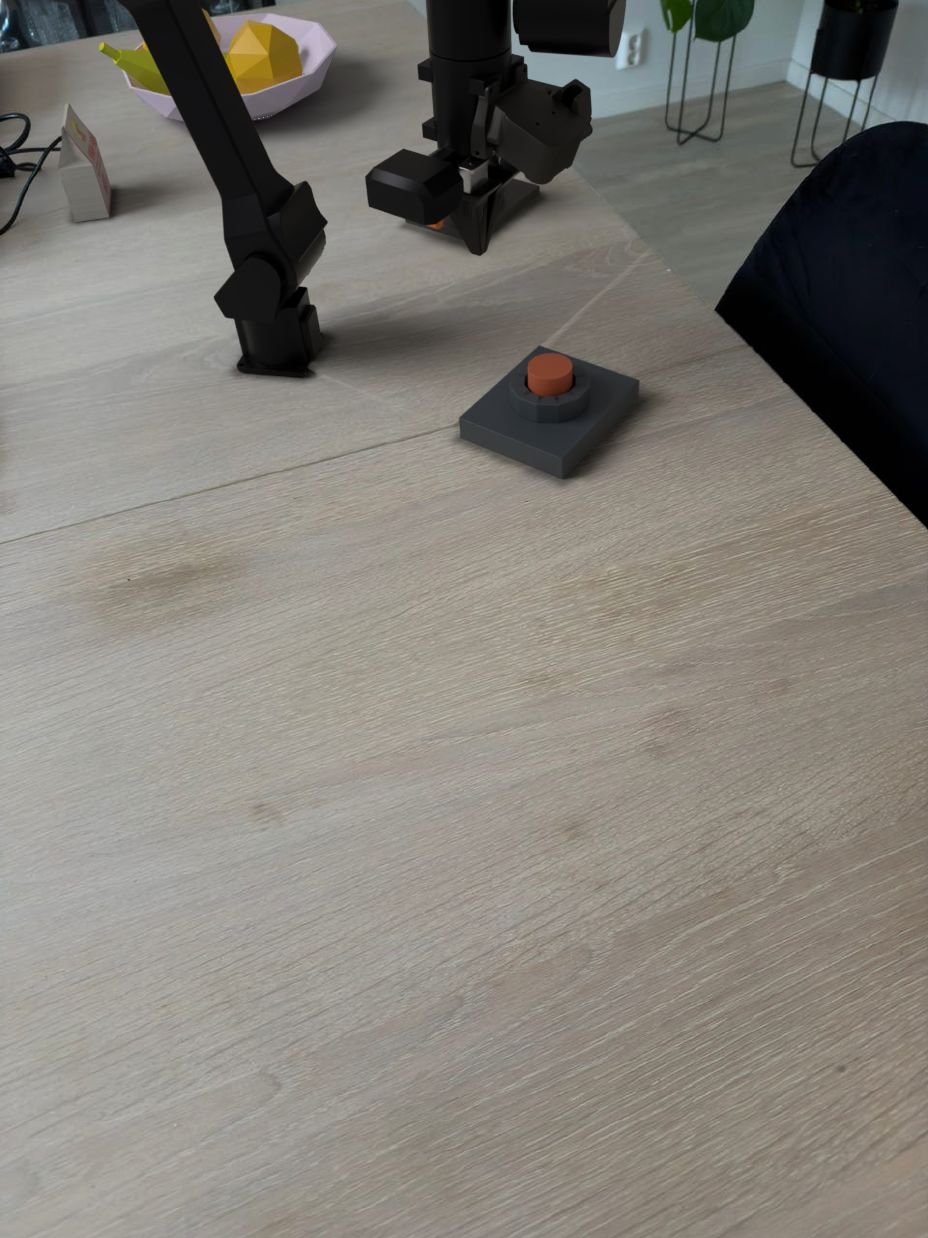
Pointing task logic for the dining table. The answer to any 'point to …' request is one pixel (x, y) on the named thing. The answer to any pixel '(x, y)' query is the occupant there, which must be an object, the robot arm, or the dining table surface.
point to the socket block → (549, 416)
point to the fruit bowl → (245, 62)
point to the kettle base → (512, 201)
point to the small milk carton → (83, 170)
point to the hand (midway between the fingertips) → (478, 252)
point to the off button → (550, 374)
